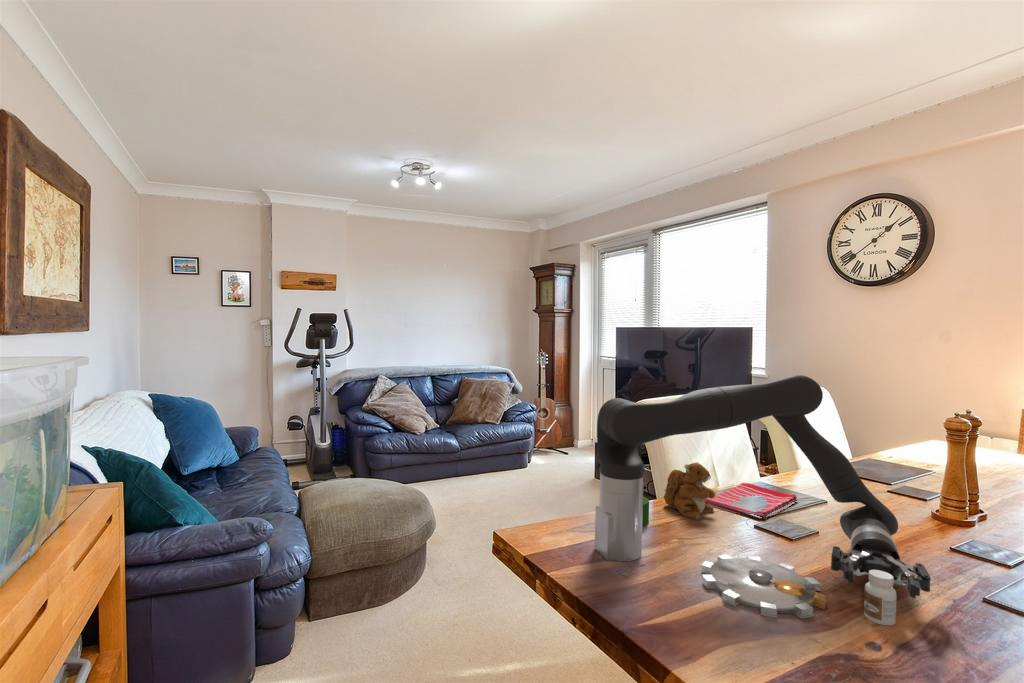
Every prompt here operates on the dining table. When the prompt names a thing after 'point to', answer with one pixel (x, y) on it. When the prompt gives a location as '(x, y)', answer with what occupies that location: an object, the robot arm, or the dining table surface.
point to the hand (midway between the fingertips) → (881, 584)
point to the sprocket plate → (763, 586)
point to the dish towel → (746, 489)
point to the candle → (645, 511)
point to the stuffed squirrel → (689, 491)
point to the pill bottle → (880, 598)
